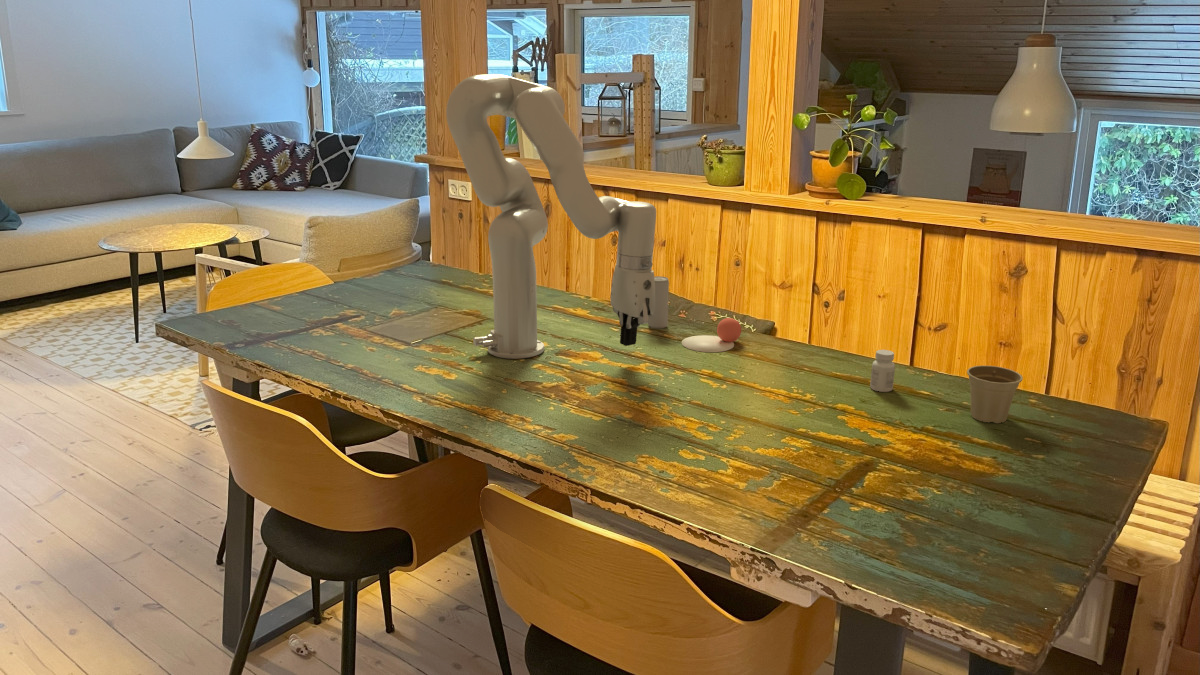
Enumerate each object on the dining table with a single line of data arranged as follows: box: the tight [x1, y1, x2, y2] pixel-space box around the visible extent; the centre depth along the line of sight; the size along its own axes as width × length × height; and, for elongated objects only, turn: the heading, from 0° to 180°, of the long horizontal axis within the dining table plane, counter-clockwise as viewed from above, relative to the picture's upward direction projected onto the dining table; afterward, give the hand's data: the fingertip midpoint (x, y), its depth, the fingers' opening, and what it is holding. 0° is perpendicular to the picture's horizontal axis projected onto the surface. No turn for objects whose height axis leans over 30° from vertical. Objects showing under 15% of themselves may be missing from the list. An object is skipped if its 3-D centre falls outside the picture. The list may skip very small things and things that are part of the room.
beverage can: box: [647, 275, 670, 330], centre depth 224 cm, size 5×5×12 cm
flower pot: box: [966, 365, 1024, 424], centre depth 171 cm, size 9×9×9 cm
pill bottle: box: [869, 349, 896, 393], centre depth 185 cm, size 4×4×8 cm
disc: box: [681, 335, 735, 353], centre depth 213 cm, size 12×12×1 cm
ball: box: [716, 317, 742, 343], centre depth 214 cm, size 6×6×6 cm
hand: (627, 343), depth 200 cm, fingers closed
